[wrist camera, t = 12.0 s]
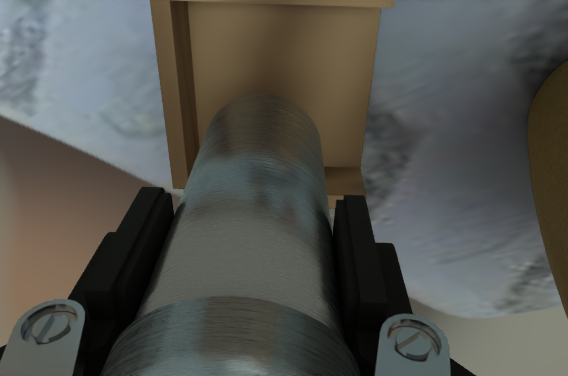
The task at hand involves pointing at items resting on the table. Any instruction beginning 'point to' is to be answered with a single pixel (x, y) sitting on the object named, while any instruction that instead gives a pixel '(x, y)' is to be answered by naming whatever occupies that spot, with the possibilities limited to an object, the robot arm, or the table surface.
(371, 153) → the table surface
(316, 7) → the tray
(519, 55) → the table surface
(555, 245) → the plant pot
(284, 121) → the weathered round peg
